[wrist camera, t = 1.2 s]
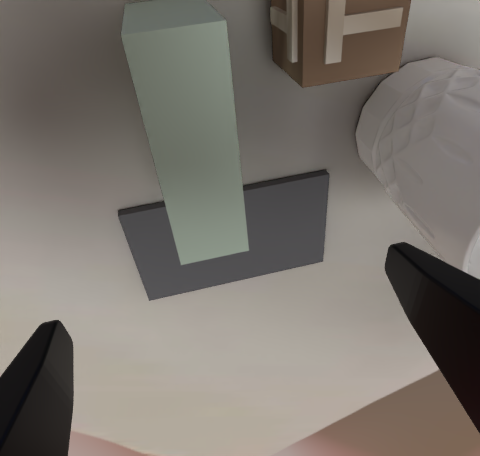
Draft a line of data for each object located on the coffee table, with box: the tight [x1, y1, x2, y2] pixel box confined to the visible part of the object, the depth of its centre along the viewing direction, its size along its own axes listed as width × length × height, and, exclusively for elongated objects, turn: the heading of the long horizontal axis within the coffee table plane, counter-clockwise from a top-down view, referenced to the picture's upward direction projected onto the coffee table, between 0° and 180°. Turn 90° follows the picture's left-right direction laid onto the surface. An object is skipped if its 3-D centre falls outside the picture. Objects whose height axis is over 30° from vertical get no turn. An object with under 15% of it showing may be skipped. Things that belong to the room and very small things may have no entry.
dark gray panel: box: [118, 170, 329, 301], centre depth 23 cm, size 7×12×1 cm, turn 95°
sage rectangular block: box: [121, 0, 249, 265], centre depth 16 cm, size 9×3×6 cm, turn 5°
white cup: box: [355, 57, 480, 279], centre depth 17 cm, size 8×8×10 cm
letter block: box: [270, 0, 411, 88], centre depth 15 cm, size 4×4×4 cm
